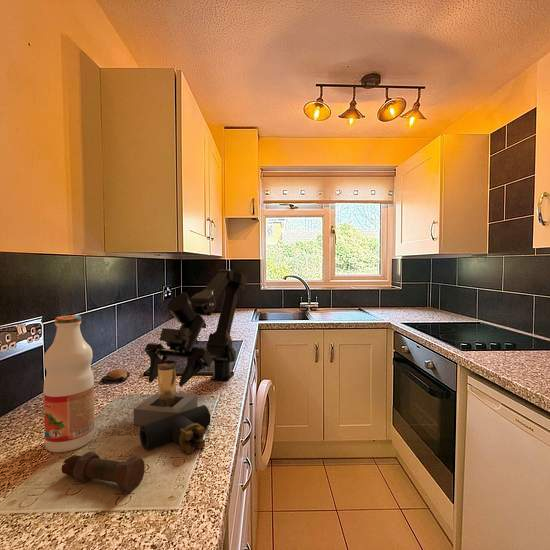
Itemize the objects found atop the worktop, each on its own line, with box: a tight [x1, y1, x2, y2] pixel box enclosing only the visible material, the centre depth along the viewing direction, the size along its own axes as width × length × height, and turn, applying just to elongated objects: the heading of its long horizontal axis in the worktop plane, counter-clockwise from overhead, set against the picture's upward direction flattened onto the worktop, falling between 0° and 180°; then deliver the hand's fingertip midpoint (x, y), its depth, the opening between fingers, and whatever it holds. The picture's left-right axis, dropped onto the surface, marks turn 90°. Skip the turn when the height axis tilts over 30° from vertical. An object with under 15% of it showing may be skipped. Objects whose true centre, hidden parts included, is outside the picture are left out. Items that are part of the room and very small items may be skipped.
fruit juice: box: [43, 314, 96, 453], centre depth 71 cm, size 9×9×28 cm
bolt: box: [61, 451, 146, 494], centre depth 58 cm, size 6×5×15 cm
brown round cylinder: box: [157, 360, 177, 407], centre depth 83 cm, size 4×4×14 cm
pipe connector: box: [139, 404, 211, 455], centre depth 72 cm, size 12×5×15 cm
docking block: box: [133, 391, 198, 427], centre depth 83 cm, size 11×11×4 cm
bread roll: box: [100, 368, 131, 386], centre depth 111 cm, size 11×8×4 cm
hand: (164, 383), depth 82 cm, fingers open, 9 cm apart
